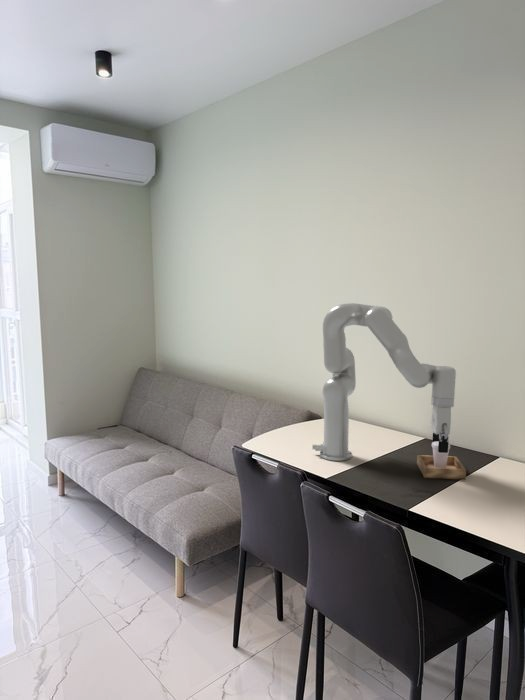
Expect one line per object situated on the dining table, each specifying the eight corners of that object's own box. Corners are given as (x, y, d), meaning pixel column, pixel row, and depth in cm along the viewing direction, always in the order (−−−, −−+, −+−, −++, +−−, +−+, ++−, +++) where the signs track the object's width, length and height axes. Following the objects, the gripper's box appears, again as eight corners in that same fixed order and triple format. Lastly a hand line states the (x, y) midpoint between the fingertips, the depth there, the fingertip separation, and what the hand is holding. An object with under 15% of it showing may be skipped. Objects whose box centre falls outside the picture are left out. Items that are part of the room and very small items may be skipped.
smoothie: (450, 473, 178) (452, 435, 176) (431, 472, 179) (433, 434, 177) (447, 467, 184) (449, 430, 182) (429, 466, 185) (430, 429, 184)
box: (423, 477, 176) (424, 468, 175) (416, 464, 190) (417, 455, 189) (465, 479, 174) (466, 469, 174) (455, 465, 188) (456, 456, 187)
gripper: (426, 395, 188) (424, 440, 190) (436, 406, 171) (434, 455, 173) (447, 396, 187) (445, 441, 189) (460, 407, 170) (456, 456, 172)
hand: (439, 447), depth 181 cm, fingers open, 9 cm apart
